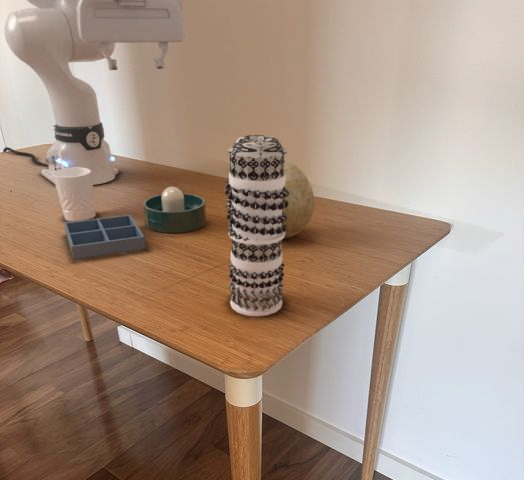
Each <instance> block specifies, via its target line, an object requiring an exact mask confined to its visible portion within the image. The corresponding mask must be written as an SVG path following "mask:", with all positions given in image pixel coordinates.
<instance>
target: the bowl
mask: <svg viewBox="0 0 524 480" xmlns="http://www.w3.org/2000/svg"><path fill="white" fill-rule="evenodd" d="M182 193H183V192H182ZM183 195H184V203H185V211H177V212H166V211H163V210H162V201H161V196H162V193H161V194H157V195H153V196H151V197H148V198H146V199H145V200H144V201H143V213H144V221H145V226H146V227H147V228H148V229H149V230H152V231H154V232H159V233H163V234H180V233H183V234H184V233H189V232H193V231H196V230H199V229H201V228H202V227H204V226H205V225H206V223H207V213H206V212H207V210H206V201H205V199H204V198H202V196H199V195H197V194H191V193H185V192H184V193H183Z"/></svg>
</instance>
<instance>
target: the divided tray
mask: <svg viewBox="0 0 524 480" xmlns="http://www.w3.org/2000/svg"><path fill="white" fill-rule="evenodd" d="M63 226H64V230H65V236H66V239H67V242H68V245H69V249H70V253H71V255H72V258H73V261H75V260H81V259H88V258H95V257H102V256H108V255H115V254H116V255H117V254H123V253H129V252H135V251H136V252H137V251H141V250H142V251H143V250H146V249H147V246H146V239H145V235H144V234H143V232H142V230H141V229H140V227H139V225H138V224H137V222H136V221H135V220H134V218H133V216H132V215H131V214H125V215H123V214H122V215H115V216H108V217H107V216H106V217H101V218H100V217H99V218H90V219H87V220H81V221H67V222H63Z"/></svg>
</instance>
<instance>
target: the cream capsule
mask: <svg viewBox="0 0 524 480" xmlns="http://www.w3.org/2000/svg"><path fill="white" fill-rule="evenodd" d="M161 194H162V196H161V201H162V210H163V211H166V212H177V211H185V203H184V195H183V191H182V190H181V189H180V188H178V187H175V186H168V187H166V188H165V189H164V190H163V191H162V193H161Z"/></svg>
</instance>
